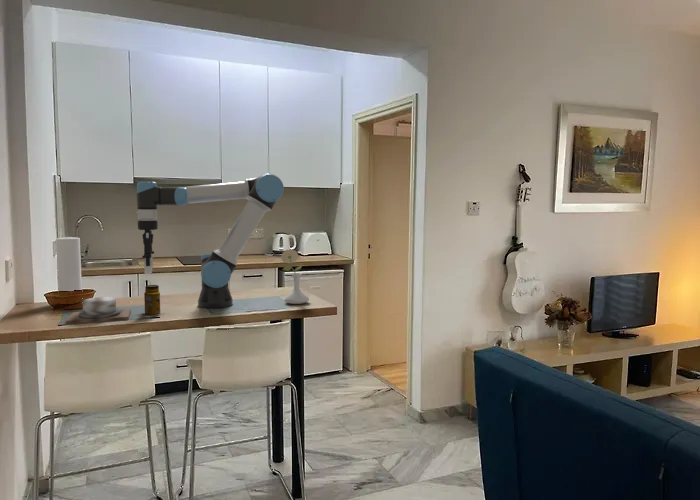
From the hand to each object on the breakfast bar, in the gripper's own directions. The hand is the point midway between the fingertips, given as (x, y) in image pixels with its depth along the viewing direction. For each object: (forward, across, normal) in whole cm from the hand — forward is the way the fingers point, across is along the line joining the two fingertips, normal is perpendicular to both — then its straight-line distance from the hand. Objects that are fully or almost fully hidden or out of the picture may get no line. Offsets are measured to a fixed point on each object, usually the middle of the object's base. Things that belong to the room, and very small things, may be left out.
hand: (148, 271), depth 216 cm
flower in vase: (+17, -5, +62) cm, 65 cm away
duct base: (+18, 0, -19) cm, 26 cm away
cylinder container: (+18, -36, -35) cm, 53 cm away
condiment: (+18, 0, 0) cm, 18 cm away
